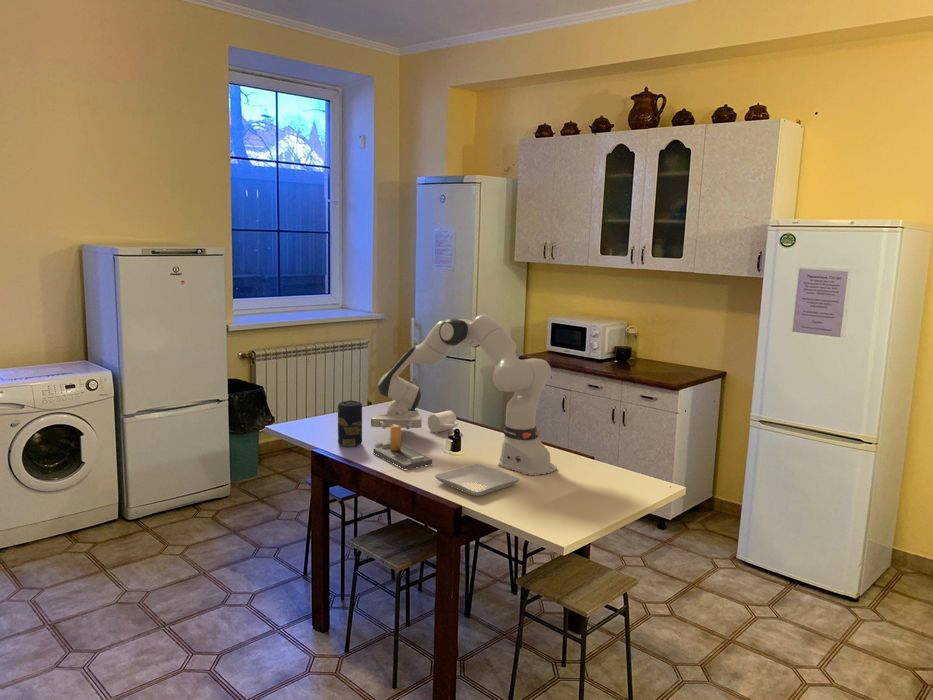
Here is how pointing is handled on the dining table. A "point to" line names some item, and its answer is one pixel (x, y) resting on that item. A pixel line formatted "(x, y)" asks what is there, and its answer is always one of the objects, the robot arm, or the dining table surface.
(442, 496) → the dining table surface
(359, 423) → the canister
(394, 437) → the fader knob
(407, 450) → the console
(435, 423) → the mug
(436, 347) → the robot arm
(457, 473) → the salad plate
